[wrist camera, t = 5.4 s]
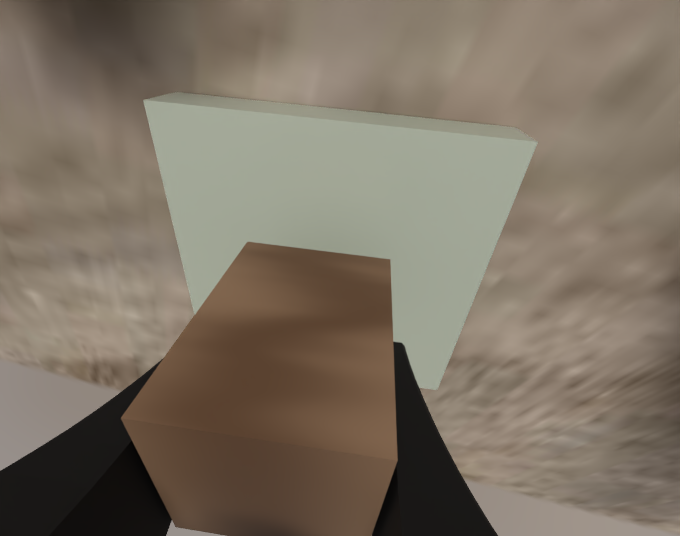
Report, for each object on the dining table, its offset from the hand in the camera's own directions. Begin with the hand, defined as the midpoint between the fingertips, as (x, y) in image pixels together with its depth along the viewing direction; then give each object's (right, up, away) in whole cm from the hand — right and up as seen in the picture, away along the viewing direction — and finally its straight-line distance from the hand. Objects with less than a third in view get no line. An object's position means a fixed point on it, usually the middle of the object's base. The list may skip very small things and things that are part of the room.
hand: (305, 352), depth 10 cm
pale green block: (+1, +3, +5) cm, 6 cm away
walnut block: (0, +1, +1) cm, 2 cm away
